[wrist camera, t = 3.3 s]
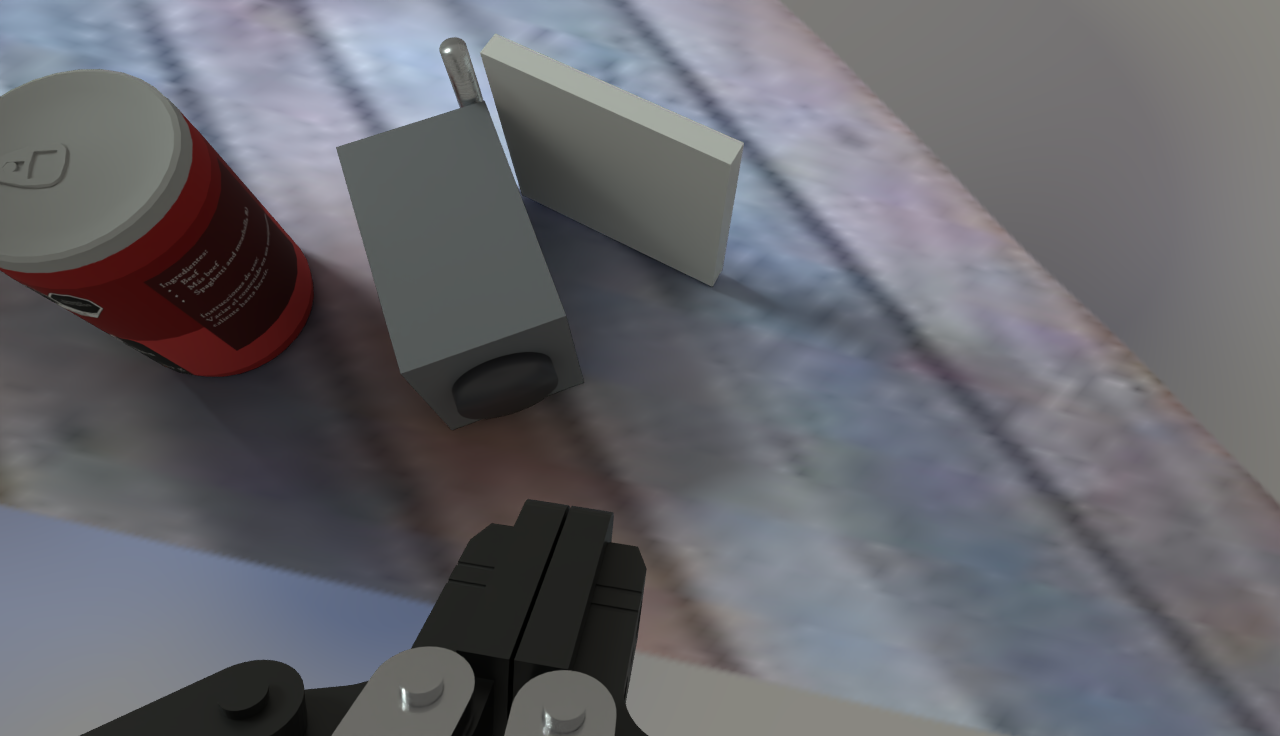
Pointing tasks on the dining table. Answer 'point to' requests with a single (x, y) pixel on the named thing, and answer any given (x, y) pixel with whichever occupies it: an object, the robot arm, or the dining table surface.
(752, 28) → the dining table surface
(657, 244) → the side door
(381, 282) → the block
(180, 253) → the canned food
